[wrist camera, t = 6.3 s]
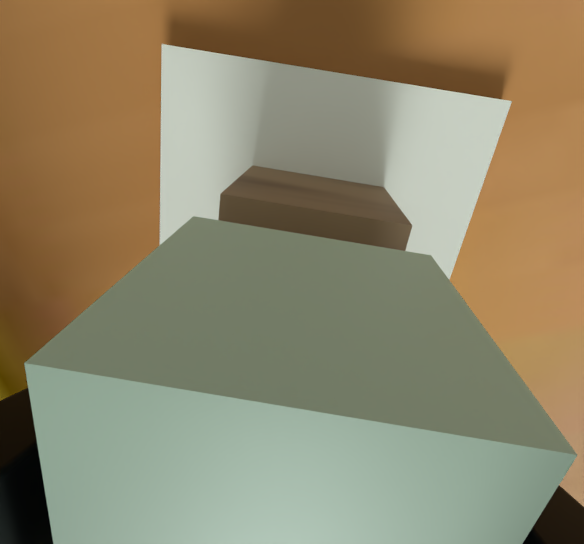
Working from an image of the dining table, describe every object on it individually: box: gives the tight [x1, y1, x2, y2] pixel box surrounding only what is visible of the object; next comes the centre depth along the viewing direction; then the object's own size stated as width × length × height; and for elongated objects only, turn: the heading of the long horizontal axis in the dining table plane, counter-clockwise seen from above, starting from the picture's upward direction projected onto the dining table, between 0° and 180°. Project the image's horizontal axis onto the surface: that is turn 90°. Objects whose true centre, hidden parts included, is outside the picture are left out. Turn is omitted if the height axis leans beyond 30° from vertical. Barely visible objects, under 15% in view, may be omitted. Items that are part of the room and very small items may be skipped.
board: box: [160, 44, 512, 279], centre depth 17 cm, size 16×12×1 cm
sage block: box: [24, 216, 577, 544], centre depth 7 cm, size 5×5×5 cm
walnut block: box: [218, 165, 412, 251], centre depth 13 cm, size 5×5×5 cm
